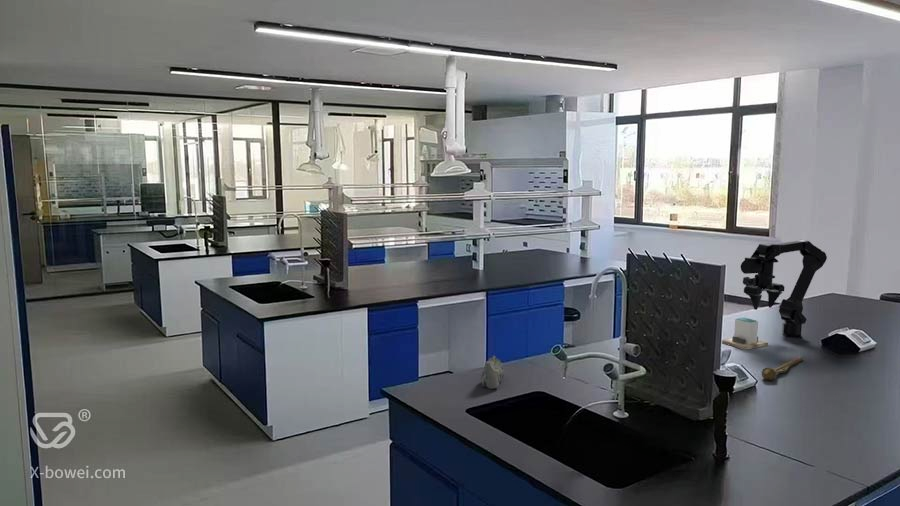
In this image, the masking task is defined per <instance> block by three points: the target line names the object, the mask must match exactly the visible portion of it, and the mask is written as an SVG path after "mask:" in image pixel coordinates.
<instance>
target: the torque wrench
mask: <svg viewBox="0 0 900 506" xmlns="http://www.w3.org/2000/svg"><path fill="white" fill-rule="evenodd" d="M803 359H804V358H803V357H802V356H798V357H797V358H794V359H792V360H791V361H787V362H786V363H784V364H781V365H780V366H777V367H776V368H772V367H771V366H769V367H764V368H763V369H762V370H761V377H762V378H763V379H764V380H765V381H769V382H771V381H775V380H776V378H777V374H782V373H786V372H787V371H788V370H789V369H790V367H792V366H793V365H797V364H798V363H800V362H802V361H803Z"/></svg>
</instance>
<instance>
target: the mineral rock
mask: <svg viewBox="0 0 900 506" xmlns="http://www.w3.org/2000/svg"><path fill="white" fill-rule="evenodd" d="M504 376H505V369H504V364H503V363H502V361H501V360H500V359H499V358H497V357H496V356H495V355H492V357H490V358H489V359H488V360H486V361H485V362H484V369H483V371H482V374H481V377H480V380H481V385H482V388H487V389H490V390H492V389H499V386H500V382H501V380H503V378H504Z"/></svg>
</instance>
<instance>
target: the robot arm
mask: <svg viewBox="0 0 900 506" xmlns="http://www.w3.org/2000/svg"><path fill="white" fill-rule="evenodd" d="M798 251H799V253H800V254H801V256H802V269H801V271H800V274H799V276H798V277H797V281H796V282H795V285H794V287H793V289H792V291H791V294H790V295H789V297H788V298H786V299H785V298H783V299H782V300H781V303H780V304H779V306H778V308H779V309H778V312H779V315H780V319H781V320H783V323H782V328H781V332H782V334H783V335H784V336H785V337H792V338H803V335H802V327H803V324H806V322H807V317H805V315H804V314H803V311H804V307H803V306H804V305H803V300H804V298H805V296H806V295H807V292H808V289H809V287H810V285H811V282H812V281H813V279H814V277H815V274H816V272H817V271H819V270H820V269H821V268H823V266H824V265H825V264H826V261H827V258H828V256H827V253H826V252H825V251H823V250H822V249H820V248H819V247H818V246H816V245H814V244H813V243H812V242H811V241H810V240H805V239H804V240H803V239H799V240H795V241H787V242H780V243H770V242H761V243H759V244H758V245H757V247H756V249H755V250H754V252H753V253H752V254H751V256H750V257H744V260H743V261H742V262H741V264H740V270H741V273H743V274H745V275H746V274H748V275H749V274H755V275H754V277H751V278H750V277H749V276H746V277H745V276H744V277H743V278H742V284H743V285H744V286H745V287H744V288H743V293H744V294H745V295H747V296H748V297H750V300H751V303H752V307H753V310H755V311H757V310H758V308H759V306H760V302H761V299H762V296H763V295H762V293H763V292H766V293H767V297H768V298H767V301H768V302H767V303H768V308H772V307H773V306H774V304H775V303H776V301H777V299H778V298H779V297H780V295H781V294H783V292H785V286H784V284H780V283H777V282H776V283H775V282H773V279H776V275H774V265H775V264H774V263H778V262H779V260H778V259H777V258H776V257H778V256H780V255H781V254H786V253H791V252H792V253H793V252H798Z"/></svg>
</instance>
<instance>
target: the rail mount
mask: <svg viewBox="0 0 900 506" xmlns="http://www.w3.org/2000/svg"><path fill="white" fill-rule="evenodd" d="M745 342H746V340H745V339H742V338H739V337H735V336H734V335H733V336H732V337H731V338H725V339H722V340H721V343H722V344H724V343H725V344H724V345H727V344H729V345H728V346H731V347H734V348H737V349H740V350H745V351H746V350H750V349H757V348H762V347H766V346H769V342H768V341H764V340H762V339H759V336H757V343H752V344H746V343H745Z"/></svg>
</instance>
